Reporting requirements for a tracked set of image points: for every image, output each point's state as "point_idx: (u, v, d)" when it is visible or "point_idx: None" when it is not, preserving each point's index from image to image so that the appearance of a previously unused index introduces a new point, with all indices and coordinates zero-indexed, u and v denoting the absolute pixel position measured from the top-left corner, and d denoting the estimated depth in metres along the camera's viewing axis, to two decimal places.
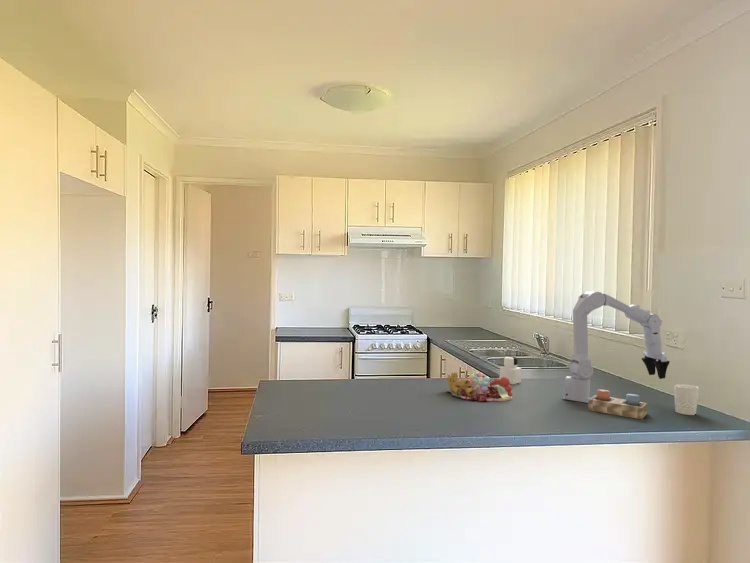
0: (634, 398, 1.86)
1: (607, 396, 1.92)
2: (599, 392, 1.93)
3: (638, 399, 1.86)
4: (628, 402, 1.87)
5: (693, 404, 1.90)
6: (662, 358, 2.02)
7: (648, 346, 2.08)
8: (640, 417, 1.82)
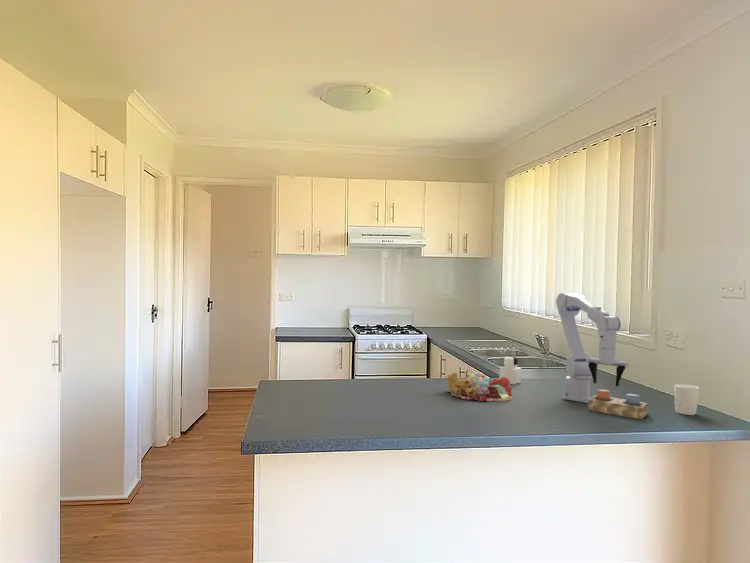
0: (634, 398, 1.86)
1: (607, 396, 1.92)
2: (599, 392, 1.93)
3: (638, 399, 1.86)
4: (628, 402, 1.87)
5: (693, 404, 1.90)
6: None
7: None
8: (640, 417, 1.82)
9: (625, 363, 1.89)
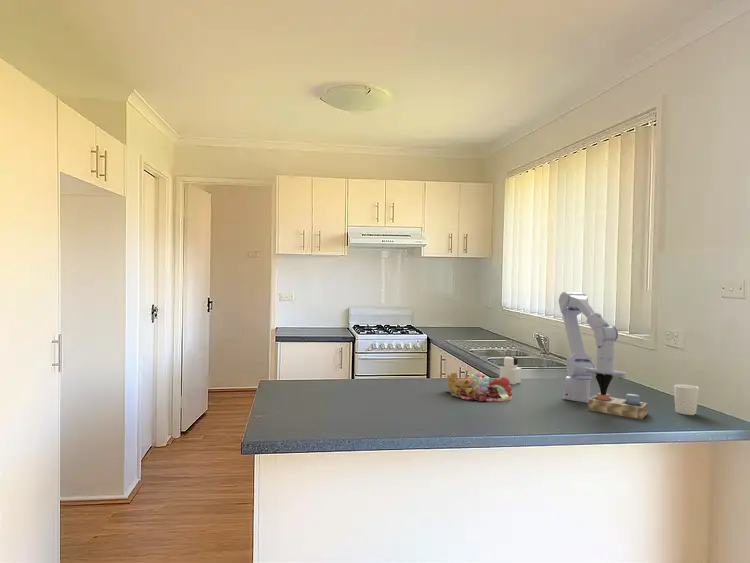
0: (634, 398, 1.86)
1: (607, 400, 1.92)
2: (599, 396, 1.93)
3: (638, 399, 1.86)
4: (628, 402, 1.87)
5: (693, 404, 1.90)
6: None
7: None
8: (640, 417, 1.82)
9: (622, 373, 1.89)
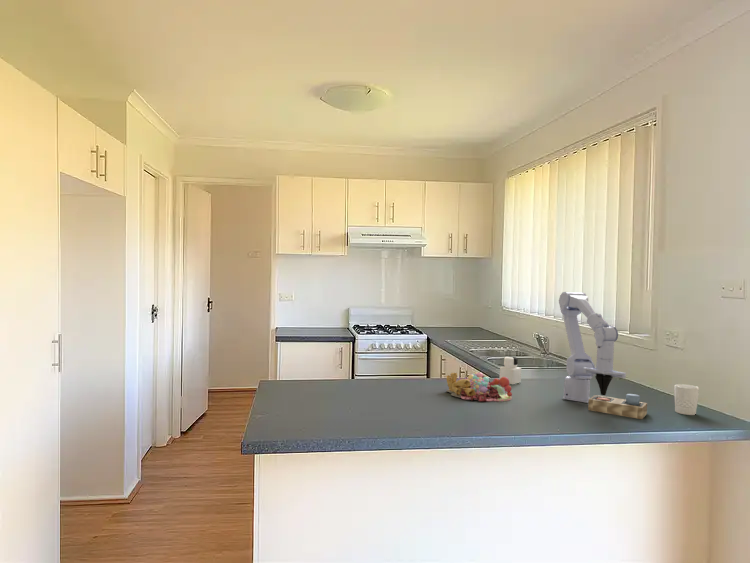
0: (634, 398, 1.86)
1: None
2: None
3: (638, 399, 1.86)
4: (628, 402, 1.87)
5: (693, 404, 1.90)
6: None
7: None
8: (640, 417, 1.82)
9: (622, 374, 1.89)
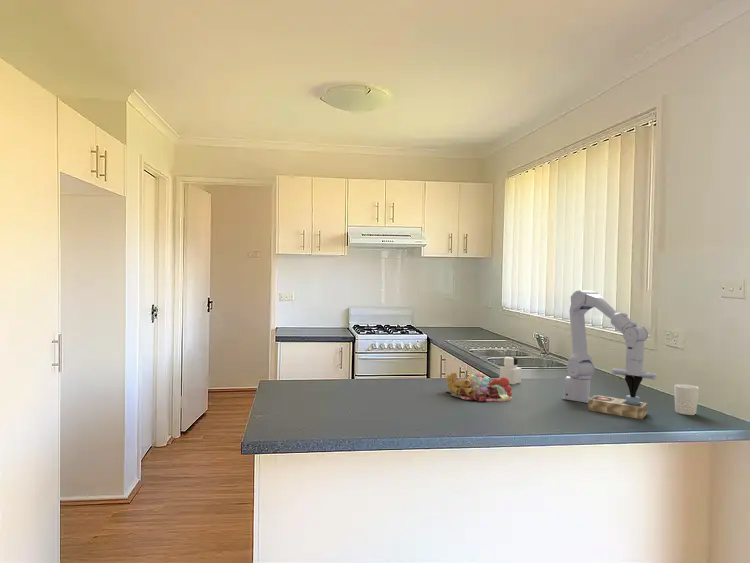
0: (634, 399, 1.86)
1: None
2: None
3: (638, 400, 1.86)
4: (628, 403, 1.87)
5: (693, 404, 1.90)
6: None
7: None
8: (640, 417, 1.82)
9: (653, 375, 1.83)
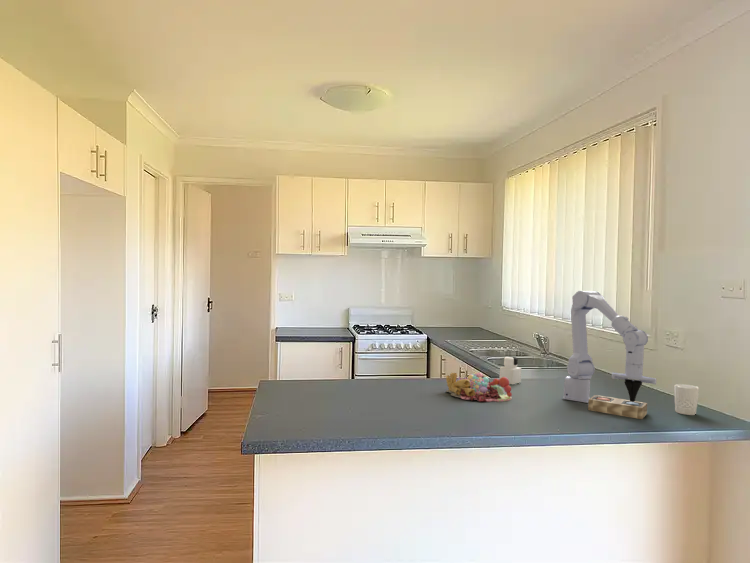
0: None
1: None
2: None
3: None
4: None
5: (693, 404, 1.90)
6: None
7: None
8: (640, 417, 1.82)
9: (653, 380, 1.83)
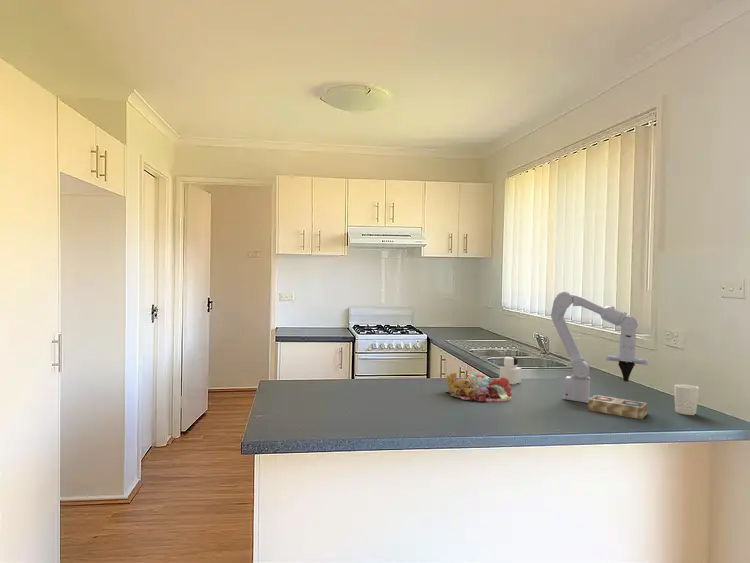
0: None
1: None
2: None
3: None
4: None
5: (693, 404, 1.90)
6: None
7: None
8: (640, 417, 1.82)
9: (644, 361, 1.97)
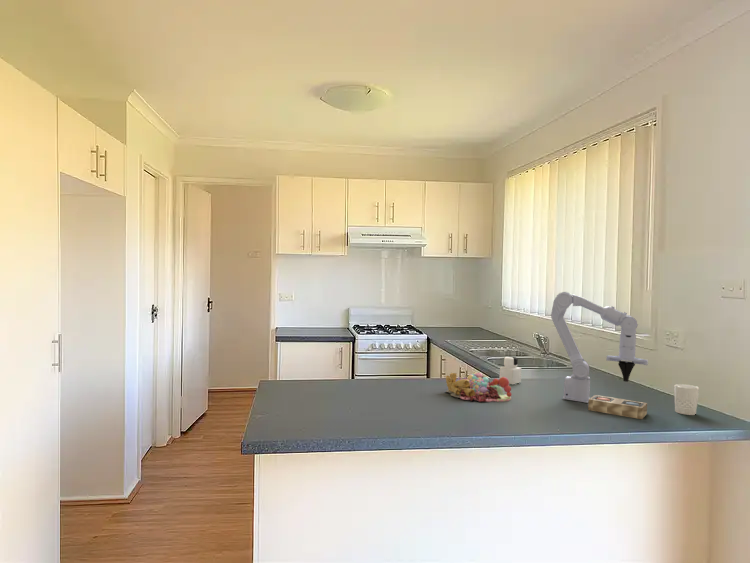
0: None
1: None
2: None
3: None
4: None
5: (693, 404, 1.90)
6: None
7: None
8: (640, 417, 1.82)
9: (644, 361, 1.97)
